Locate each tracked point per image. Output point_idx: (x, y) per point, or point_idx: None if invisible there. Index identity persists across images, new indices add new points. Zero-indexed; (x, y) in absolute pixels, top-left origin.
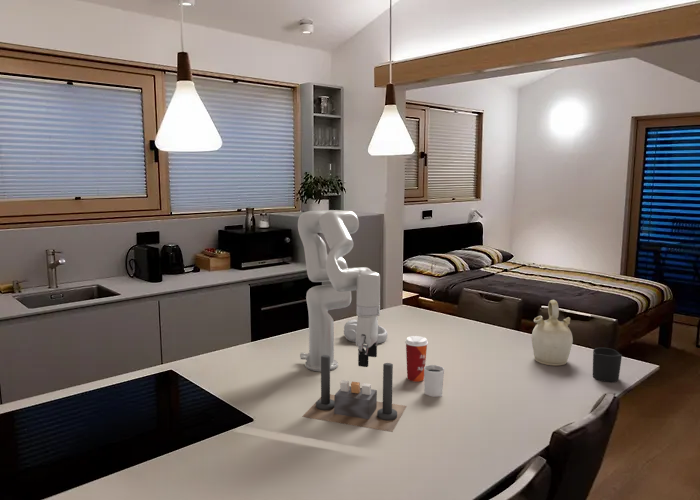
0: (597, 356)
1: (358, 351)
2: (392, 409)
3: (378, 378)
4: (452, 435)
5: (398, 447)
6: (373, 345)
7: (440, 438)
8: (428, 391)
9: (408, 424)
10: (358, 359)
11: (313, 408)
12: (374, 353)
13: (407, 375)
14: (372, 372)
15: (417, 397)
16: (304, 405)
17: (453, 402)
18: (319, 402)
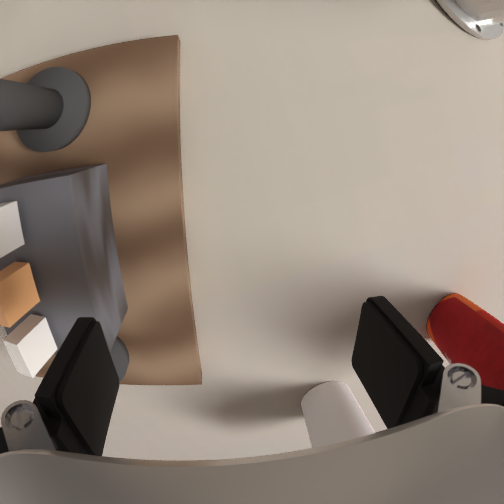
0: None
1: (3, 428)
2: (122, 369)
3: (441, 203)
4: (132, 454)
5: (19, 382)
6: (406, 416)
7: (105, 441)
8: (309, 415)
9: (119, 390)
10: (59, 353)
11: (26, 80)
12: (364, 374)
13: (450, 303)
14: (477, 169)
15: (312, 370)
16: (85, 15)
17: (302, 435)
18: (41, 85)
